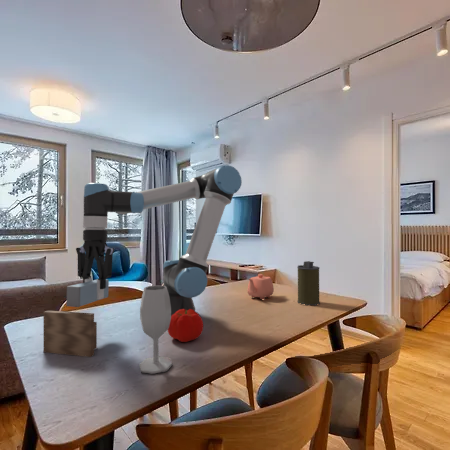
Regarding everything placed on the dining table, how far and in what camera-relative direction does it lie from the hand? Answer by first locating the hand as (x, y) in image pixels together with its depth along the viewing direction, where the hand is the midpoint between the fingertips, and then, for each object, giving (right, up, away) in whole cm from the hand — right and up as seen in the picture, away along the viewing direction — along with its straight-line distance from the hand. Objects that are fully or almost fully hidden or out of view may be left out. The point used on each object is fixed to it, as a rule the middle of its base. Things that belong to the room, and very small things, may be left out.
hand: (94, 298), depth 98 cm
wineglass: (+26, -13, -21) cm, 36 cm away
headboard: (-1, -13, -11) cm, 17 cm away
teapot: (+63, -14, +54) cm, 84 cm away
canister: (+85, -13, +43) cm, 96 cm away
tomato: (+31, -13, -2) cm, 34 cm away
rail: (-1, 0, -2) cm, 2 cm away
